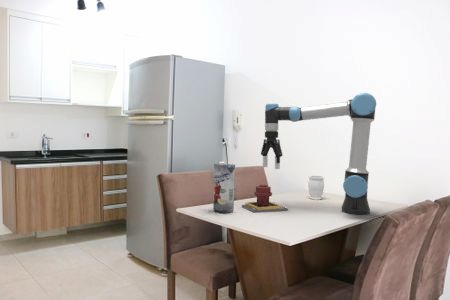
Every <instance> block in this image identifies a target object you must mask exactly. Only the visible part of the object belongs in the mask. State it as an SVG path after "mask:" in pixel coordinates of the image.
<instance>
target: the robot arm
mask: <svg viewBox="0 0 450 300" xmlns="http://www.w3.org/2000/svg"><path fill="white" fill-rule="evenodd" d="M376 107H377V100H376V98H375V97H374V96H373V95H372V94H371V93H368V92H360V93H358V94H356V95H354V96H353V98H352V99H347V100H346V101H344V102H337V103H329V104H328V103H326V104H320V105H312V106H305V107H299V106H279V104H278V103H267V104H266V105H265V107H264V108H265V110H264V111H265V112H264V139H263V144H262V147H261V151H260V155H261V156H262V168H268V161H269V160H268V158H269V157H268V154H269V151H270V149H271V148H272V150H273V154H274V155H275V156H274V170H280V169H281V157H283V152H282V148H281V144H280V142H281V141H280V140H281V139H278V138H279V121H290V122H293V123H294V122H301V121H307V120H308V121H309V120H318V119H327V118H337V117H344V116H348V117H349V118H350V120H351V121H352V131H351V143H350V151H349V153H350V154H349V163H348V167H347V168H346V169H345V171H344V172H345V173H344V180H343V183H342V186H343V187H342V188H343V190H344V192H345V193H344V200H343V202H342V205H341V208H340V211H342V212H343V213H346V214H353V215H369V214H370V213H371V208H370V206H369V205H370V204H369V201H368V188H369V186H368V184H369V174H370V172H369V171H368V170H367V165H368V164H367V163H368V155H369V154H368V153H369V144H370V135H371V134H370V133H371V126H372V125H371V124H372V122H374V121H375V117H376ZM265 138H266V139H265Z"/></svg>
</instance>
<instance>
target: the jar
mask: <svg viewBox="0 0 450 300" xmlns="http://www.w3.org/2000/svg"><path fill="white" fill-rule="evenodd" d="M324 179H325V177H324V176H321V175H309V176H308V183H307V188H308V194H309V199H310V200H314V201H315V200H316V201H317V200H320V199H321V200H322V199H323V197H322V196H323V194H324V189H325V182H324V181H325V180H324Z"/></svg>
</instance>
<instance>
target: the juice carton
mask: <svg viewBox="0 0 450 300" xmlns="http://www.w3.org/2000/svg"><path fill="white" fill-rule="evenodd" d="M213 169H214V170H213V202H212V203H213V205H212V206H213V209H212V210H213V211H214V212H216V213H221V214H229V213H234V210H235V209H234V208H235V174H236V173H235V172H236V164H231V163H230V164H228V163H226V162H225V161H219V162H218V163H214V164H213Z"/></svg>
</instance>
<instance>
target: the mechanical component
mask: <svg viewBox="0 0 450 300" xmlns="http://www.w3.org/2000/svg"><path fill="white" fill-rule="evenodd" d="M271 190H272V188H271V186H268V185H267V184H260V185H258V186H256V185H255V191H254V194H253V195H254V196H256V202H257V204H258V206H260V207H266V206H268V205H269V202H270V197H272V195H273V192H272V191H271Z"/></svg>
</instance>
